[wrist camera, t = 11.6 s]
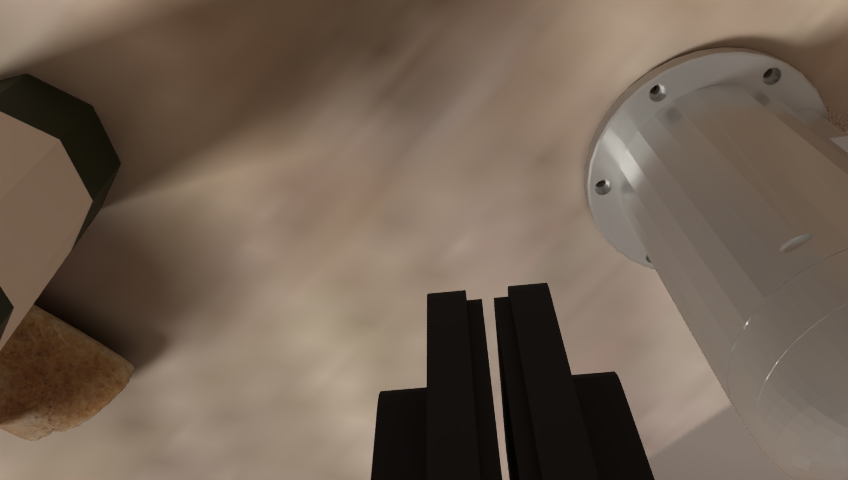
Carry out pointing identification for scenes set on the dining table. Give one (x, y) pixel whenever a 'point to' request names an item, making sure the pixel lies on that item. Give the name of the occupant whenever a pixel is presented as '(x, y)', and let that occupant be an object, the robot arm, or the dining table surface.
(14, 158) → the wine bottle
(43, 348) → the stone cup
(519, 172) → the dining table surface
